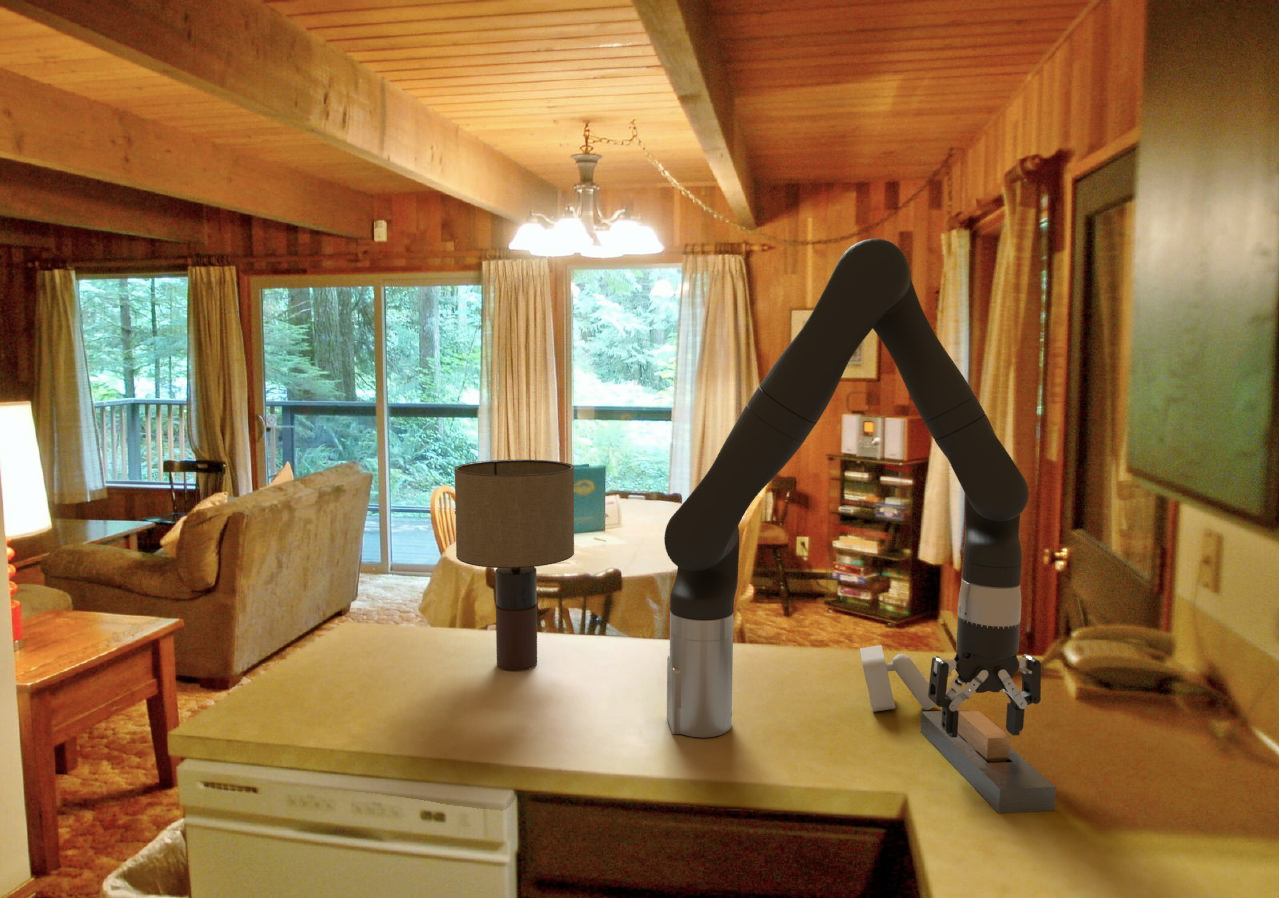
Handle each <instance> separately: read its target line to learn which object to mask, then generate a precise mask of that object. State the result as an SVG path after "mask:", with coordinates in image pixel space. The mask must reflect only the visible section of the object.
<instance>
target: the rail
mask: <svg viewBox="0 0 1279 898" xmlns="http://www.w3.org/2000/svg"><path fill="white" fill-rule="evenodd" d="M957 710H958V709H957ZM958 711H959V712H967V711H969V710H968V709H965V710H963V709H961V710H958ZM941 721H942V710H938V711H935V710H934V711H933V710H932V711H931V710H930V711H921V713H920V732H921V734H922V735H923V736H924V737H925V738H926V739H927V740H928V741H929V742H930V743H931V744H932V745H933V746H934V747H935V749H937V751H939V752H940V753H941V755H943V757H944V758H945V759H946V760H947V761H948V762H949V764H951V765H952V766H953V767H954V768H955V769H956V770H957V771H958V772H959V774H960V775H961V776H962V777H963V778H964V779H965V780H966V781H967V782H968V783H969V784H970V785H971V786H972V787H973V788H974V789H975V790H976V791H977V792H978V793H979V794H980V795H981V797H983V799H985V800H986V802H987V803H988V804H989V805H990V806H991V807H992V808H993V809H994V810H995V811H996V812H997V813H998V814H1005V813H1006V814H1007V813H1008V814H1009V813H1025V812H1029V813H1030V812H1045V811H1046V812H1049V811H1055V804H1056V803H1055V801H1056V788H1057V786H1056V785H1054V784H1053V783H1052V782H1051V781H1050V780H1049V779H1048V778H1046V777H1045V776H1044V775H1043V774H1042V773H1041V772H1040V771H1038V770H1037V769H1036V768H1035V767H1034V766H1032V764H1030V763H1029V762H1028V761H1027V760H1026V759H1025V758H1024V757H1022V755H1020V754H1019V753H1017V751H1016V750H1015V749H1013V748H1012V747H1011V746H1010V752H1009V760H1005V762H1004V763H987V762H986V761H985V760H984V759H983V758H982V756H981V755H980V754H979V753H978V752H977V751H976V750H975V749H974V748H972V747H971V746H970V745H969V744H968V743H967V742H965V741H964V740H963V739H962V738H961V737H960V735H958V734H957V737H953V738H951V737H950V736H949V735H948V734H947V733H946V732H945V730H943V729H942V726H941Z"/></svg>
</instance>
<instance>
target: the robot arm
mask: <svg viewBox="0 0 1279 898" xmlns="http://www.w3.org/2000/svg"><path fill="white" fill-rule="evenodd" d="M908 261H909V260H908V259H907V257H906V256H905V253H904V252H903V251H902V250H901V249H900V247H898V246H897V245H896V244H895V243H893V242H891V241H889V240H888V239H887V240H886V239H882V238H868V239H864V240H861V241H859V242H856V243H855V244H853V245H851V246H850V247H848V249H846V250H845V251H844V252H843V254H842V255H841V256H840V258H839V260H838V261H837V263H836V265H835V268H834V270H833V271H832V274H831V275H830V278H829V279H828V281H827V283H826V286H825V288H824V289H823V291H822V294H821V295H820V297H819V299H818V301H817V303H816V304H815V306H814V308H813V310H812V312H811V313H810V315H809V317H808V318H807V321H806V322H805V324H804V325H803V327H802V328H801V329H800V330H799V332H798V333H797V335H796V336H795V337H794V338H793V339H792V341H790V343H789V344H788V346H787V347H786V349H784V351H782V353H781V354H780V356H779V357H778V359H777V360H776V361H775V363H774V364H773V366H772V367H771V368H770V370H768V372H767V374H766V375H765V377H764V378H763V379H762V381H761V382H760V384H759V385H758V387H757V388H756V390H755V391H754V392H753V394H752V396H751V397H750V399H749V401H748V402H747V404H746V405H745V407H744V409H743V410H742V412H741V414H740V416H739V417H738V419H737V421H736V422H735V424H734V425H733V427H732V428H731V430H730V432H729V433H728V435H727V437H726V439H725V440H724V442H723V445H722V446H721V449H720V450H719V452H718V453H717V457H715V460H714V461H713V463H712V465H711V466H710V467H709V469H708V470H707V473H706V474H705V475H704V476H703V478H702V479H701V480H700V482H699V483H698V485H696V487H695V488H694V490H693V491H692V492H691V494H689V496H688V497H687V498H686V500H685V501H684V502H682V504H681V505H680V507H678V509H677V510H676V511H675V512H674V514H673V515H672V516H671V517H670V519H669V520H668V522H667V524H666V527H665V529H664V530H665V531H664V541H663V542H664V548H665V551H666V554H667V556H668V558H669V560H670V561H671V562H672V563H673V564H674V565H675V566H676V567H677V570H676V571H677V572H676V576H675V580H674V582H673V586H672V588H671V591H670V597H669V655H668V656H667V657H666V658H667V659H666V661H667V662H666V664H667V665H666V718H667V723H668V725H669V728H670V731H671V734H673V735H676V734H677V735H683V736H687V737H691V738H692V737H693V738H712V737H718V736H721V735H724V734H726V733H727V732H729V731H730V730H731V728H732V724H733V722H732V721H733V720H732V718H733V666H734V665H733V664H734V663H733V660H734V658H733V657H734V613H735V611H734V610H735V609H734V608H735V607H734V606H735V598H736V594H737V589H738V582H739V566H740V565H739V563H740V562H739V561H740V528H739V524H740V522H741V520H742V519H743V517H744V515H745V513H746V512H747V510H748V509H749V507H750V506H751V505H752V502H753V501H755V499H756V497H757V496H758V495H759V494H760V493H761V492H762V490H763V489H764V488H765V487H766V486H767V485H768V484H769V483H771V481H772V480H773V479H774V478H775V477H776V476H777V475H778V474H779V472H781V471H782V469H783V468H784V467H785V466H786V465H787V464H788V462H789V461H790V460H791V459H792V458H793V457H794V455H795V454H797V451H798V450H799V449H800V448H801V447H802V445H803V444H804V442H805V441H806V439H807V438H808V437H809V435H810V434H811V432H812V431H813V429H815V426H816V425H817V423H818V422H819V420H820V419H821V417H822V415H823V413H825V410H826V409H827V407H828V405H829V403H830V402H831V400H832V398H833V397H834V394H835V392H836V389H837V388H838V385H839V383H840V381H841V379H842V377H843V376H844V373H845V371H846V368H847V366H848V364H849V362H850V360H851V359H852V357H853V355H854V353H856V351H857V350H858V348H859V347H860V345H861V344H862V342H863V341H864V340H865V339H866V337H867V336H868V335H869V334H870V332H871V331H872V330H873V331H874V333H876V335H877V336H878V338H879V339H880V341H881V342H882V344H883V345H884V346H885V348H886V350H887V351H888V353H889V355H890V356H891V358H892V360H893V362H894V364H895V366H896V368H897V370H898V372H899V374H900V377H901V379H902V381H903V384H904V386H905V388H906V390H907V392H908V394H909V396H910V399H911V400H912V402H913V405H914V406H915V408H916V410H917V412H918V414H919V416H920V417H921V420H922V422H924V424H925V426H926V428H927V430H928V431H929V433H930V435H931V437H932V439H933V440H934V442H935V444H936V445H937V447H938V448H939V449H940V450H941V452H942V453H943V455H944V456H945V457H946V459H947V460H948V462H949V464H950V466H951V468H952V470H953V472H954V474H955V476H956V478H957V480H958V482H959V484H960V486H961V488H962V490H963V492H964V514H965V515H964V517H965V519H964V520H965V521H964V522H965V524H964V525H965V540H964V548H963V556H962V570H961V571H962V572H961V581H960V582H961V584H960V588H959V594H958V604H957V623H956V624H957V625H956V644H955V645H956V655H955V657H954V658H953V659H950V658H949V659H948V658H947V659H945V658H941V657H940V656H939V655H935V656H933V657H932V658H931V663H930V664H931V665H930V672H929V673H930V674H929V675H930V676H929V681H928V682H929V691H928V697H929V699H931V700H932V701H933V702H934V703H935V704H936V706H937V707H939V708H941V711H942V721H941V726H942V729H943V730H945V732H946V733H947V734H948V735H949V736H950V737H951V738H953V737H957V733H958V715H959V711H958V709H959V708H960V706H961V705H962V704H963V703H964V701H965V700H969V699H970V697H972V695H973V694H974V692H975V693H977V694H982V693H986V692H987V693H988V692H991V693H1000V691H1001V690H1002V691H1003V693H1004V694H1005V695H1006V697H1007V699H1008V700H1009V701H1010V702H1007V705H1006V719H1005V728H1006V731H1007V732H1008V733H1009V734H1010V735H1011V736H1013V737H1014V736H1020V734H1021V733H1020V732H1023V728H1024V725H1025V724H1024V723H1025V709H1026V708H1027V706H1029V705H1031V704H1034V705H1038V704H1040V702H1041V699H1042V698H1041V697H1042V695H1041V694H1042V693H1041V692H1042V690H1041V689H1042V688H1041V686H1042V679H1041V678H1042V674H1041V673H1042V663H1041V661H1040V660H1038V659H1037V658H1035V657H1034V656H1032V655H1031V654H1029V653H1025V654H1023V655H1022V656H1021V657H1018V655H1017V654H1018V653H1019V649H1020V632H1021V631H1020V630H1021V629H1020V628H1021V616H1022V615H1021V614H1022V593H1021V592H1022V591H1021V578H1022V563H1023V555H1022V552H1023V551H1022V546H1021V542H1020V536H1019V534H1020V522H1021V521H1020V519H1021V513H1023V511H1024V510H1025V509H1026V507H1027V504H1028V502H1029V496H1030V493H1029V487H1028V484H1027V481H1026V479H1025V478H1024V476H1023V474H1022V472H1021V470H1020V469H1019V468H1018V466H1017V464H1016V463H1015V462H1014V460H1013V459H1012V457H1011V456H1010V453H1009V452H1008V451H1007V450H1006V448H1005V446H1004V445H1003V444H1002V442H1001V441H1000V440H999V438H998V437H997V435H996V433H995V430H994V429H993V425H992V424H991V422H990V420H989V417H988V415H987V414H986V412H985V410H984V409H983V406H982V405H981V403H980V402H979V399H978V398H977V396H976V395H975V392H974V390H973V389H972V388H971V386H970V385H969V383H968V381H967V380H966V379H965V377H964V375H963V373H962V372H961V371H960V370H959V368H958V366H957V365H956V364H955V362H954V361H953V359H952V357H951V356H950V355H949V353H948V352H947V351H946V349H945V347H944V346H943V344H942V343H941V341H940V339H939V338H938V336H937V335H936V333H935V331H934V329H933V328H932V326H931V324H930V322H929V319H928V318H927V316H926V314H925V312H924V310H923V308H922V305H921V302H920V300H919V297H918V295H917V292H916V289H915V287H914V283H913V281H912V276H911V275H912V273H911V267H910V263H909V262H908ZM954 670H955V671H956V672H957V673H956V675H955V676H954V677H953V678H952V680H951V681H950V682H949V683H948V679H949V677H951V676H952V673H953V671H954ZM1018 671H1020V672H1021V690H1020V689H1019V687H1018V686H1017V684H1016V683H1015V681H1014V680H1013V679H1012V678H1013V677H1014V676H1015V675H1016V674H1017V672H1018ZM948 684H949V685H948ZM963 684H964V686H963ZM948 686H949V687H948ZM947 687H948V688H947Z"/></svg>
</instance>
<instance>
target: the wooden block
mask: <svg viewBox="0 0 1279 898" xmlns="http://www.w3.org/2000/svg"><path fill="white" fill-rule="evenodd" d="M957 734H958V735H960V737H961V738H962V739H963V740H964V741H965V742H967V743H968V744H969V745H970V746H971V747H972V748H974V749H975V750H976V751H977V752H978V753H979V754H980V755H981V756H982V758H983V759H984V760H985V761H986V762H987V763H1004V762H1005V760H1009V752H1010V747H1011V736H1009V735H1008V734H1007V733H1006V732H1004V731H1003V729H1001V728H1000V727H999V726H997V725H996V724H995V723H994V722H992V720H990V719H989V718H988V717H987V716H985V714H983V713H982V712H981V711H979V710H973V711H970V710H968V711H967V712H959V715H958V733H957Z"/></svg>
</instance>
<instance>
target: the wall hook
mask: <svg viewBox="0 0 1279 898" xmlns="http://www.w3.org/2000/svg"><path fill="white" fill-rule="evenodd" d="M859 651H860V659H861V663H862V669H863V674H864V678H865V684H866V686H867V691H868V696H869V700H870V706H871V709H872V712H873V713H875V712H880V711H881V712H882V711H887V710H889V711H890V710H895V709H896V704H895V701H894V696H893V695H894V694H893V690H892V685H891V681H890V676H889V673H888V672H894V671H895V672H896V674H897V675H898V677H899V678H900V679H901V681H902V682H903V683H904V685H905V686H906V687H907V688H908V690H909V691H910V692H911V694H912V696H913V697H914V698H915V699H916V701H917V702H918V704H919V705H920V706H921V708H923V710H924V711H928V710H931V709H933V708H935V707H936V706H937V705H936V704H935V703H934V702H933V701H932V700H931V699H929V697H928V691H929V682H930V681H928V680H927V678H926V677H925V676H924V674H923V673H922V672H921V670H920V669H919V668H918V666H917V665H916V664H915V662H914V661H913V659H911V657H909V656H908V655H907V654H905V653H898V654H895V656H894V657H893V659H892V661H891V662H886V658H885V655H884V651H883V646H882V645H881V644H879V645H878V644H877V645H873V646H867V647H866V646H865V647H860V648H859Z"/></svg>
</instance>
